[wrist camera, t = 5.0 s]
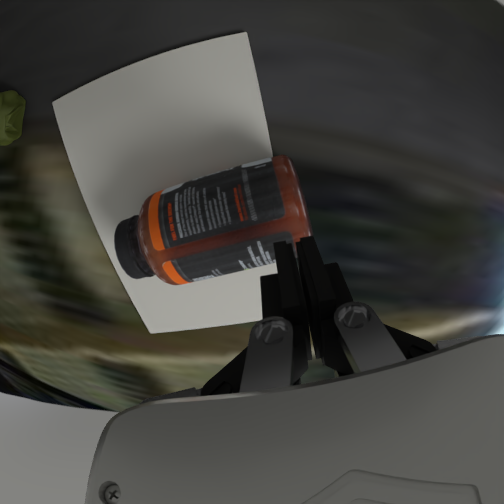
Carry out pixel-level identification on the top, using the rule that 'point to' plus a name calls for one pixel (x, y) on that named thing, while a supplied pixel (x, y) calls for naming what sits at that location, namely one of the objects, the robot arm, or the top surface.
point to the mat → (169, 161)
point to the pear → (11, 116)
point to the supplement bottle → (215, 224)
